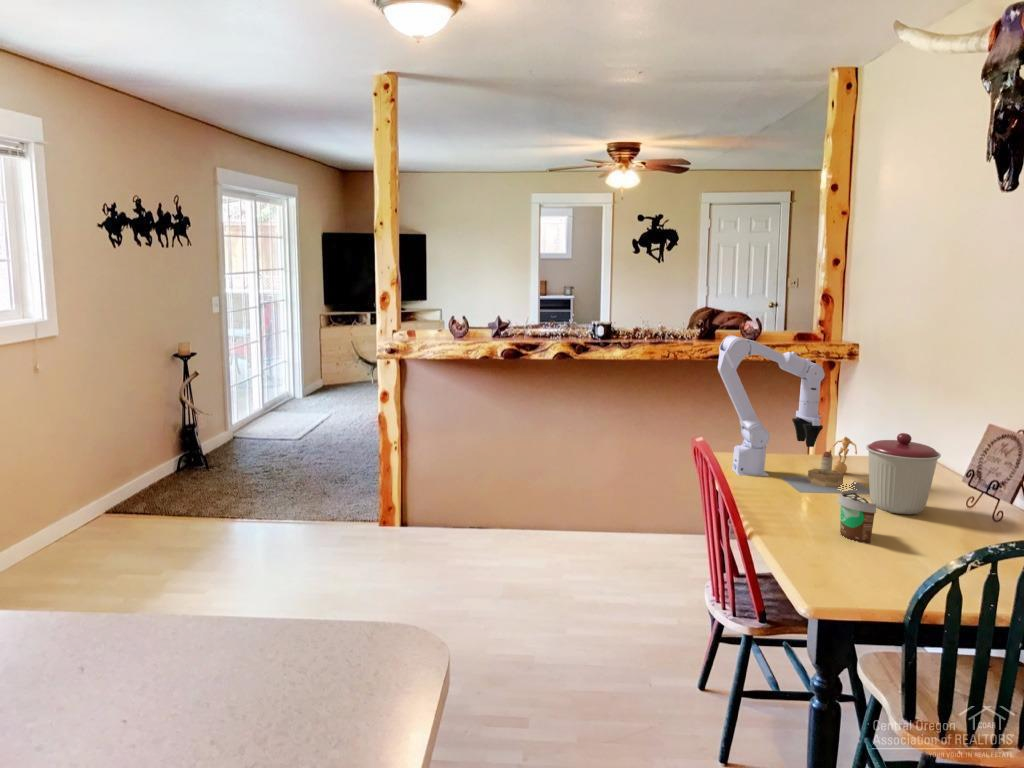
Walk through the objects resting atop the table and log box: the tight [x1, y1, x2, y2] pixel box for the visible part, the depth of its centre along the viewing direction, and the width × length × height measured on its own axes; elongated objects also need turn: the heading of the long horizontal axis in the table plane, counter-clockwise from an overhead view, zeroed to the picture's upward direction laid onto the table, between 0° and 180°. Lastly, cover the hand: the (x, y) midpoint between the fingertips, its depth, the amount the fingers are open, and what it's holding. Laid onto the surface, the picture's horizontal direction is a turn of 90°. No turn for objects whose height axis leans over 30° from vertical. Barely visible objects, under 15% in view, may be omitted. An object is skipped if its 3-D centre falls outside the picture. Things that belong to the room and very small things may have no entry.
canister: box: [865, 432, 942, 515], centre depth 214 cm, size 18×18×21 cm
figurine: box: [830, 436, 858, 475], centre depth 250 cm, size 8×6×12 cm
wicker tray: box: [807, 468, 845, 487], centre depth 238 cm, size 9×9×3 cm
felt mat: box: [779, 476, 870, 495], centre depth 236 cm, size 22×17×1 cm
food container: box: [837, 490, 877, 544], centre depth 191 cm, size 12×6×10 cm, turn 178°
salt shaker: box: [820, 451, 834, 475], centre depth 238 cm, size 3×3×10 cm
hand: (805, 443), depth 247 cm, fingers open, 7 cm apart
